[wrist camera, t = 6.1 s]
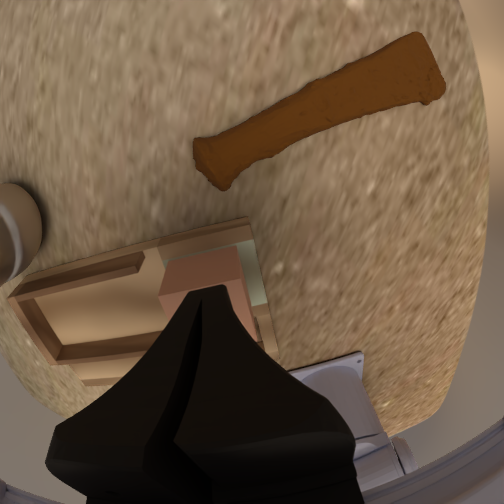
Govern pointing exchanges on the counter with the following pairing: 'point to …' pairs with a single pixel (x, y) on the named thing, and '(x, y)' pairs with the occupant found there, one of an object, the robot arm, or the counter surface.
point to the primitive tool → (325, 107)
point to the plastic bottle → (17, 231)
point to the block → (208, 282)
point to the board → (124, 301)
